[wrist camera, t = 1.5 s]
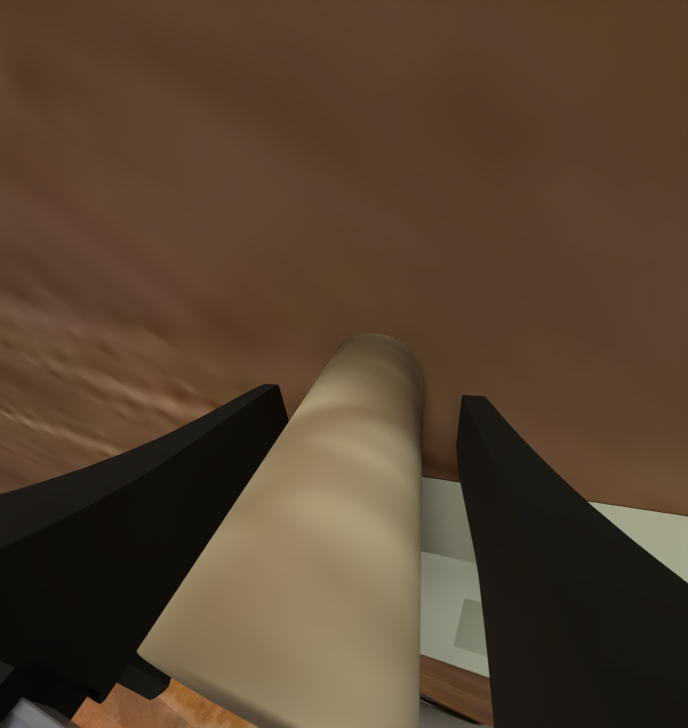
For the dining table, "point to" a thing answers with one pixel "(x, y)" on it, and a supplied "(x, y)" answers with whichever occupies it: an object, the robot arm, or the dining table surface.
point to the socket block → (460, 576)
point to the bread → (156, 711)
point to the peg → (316, 562)
